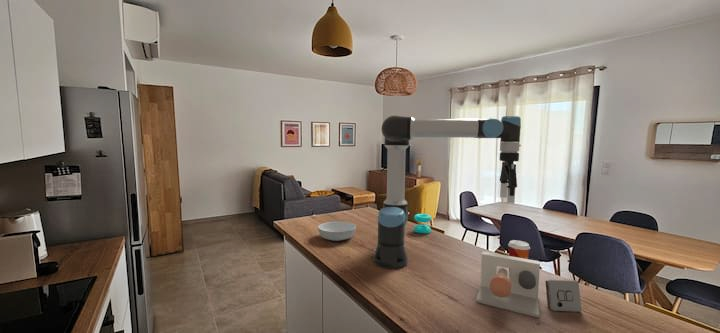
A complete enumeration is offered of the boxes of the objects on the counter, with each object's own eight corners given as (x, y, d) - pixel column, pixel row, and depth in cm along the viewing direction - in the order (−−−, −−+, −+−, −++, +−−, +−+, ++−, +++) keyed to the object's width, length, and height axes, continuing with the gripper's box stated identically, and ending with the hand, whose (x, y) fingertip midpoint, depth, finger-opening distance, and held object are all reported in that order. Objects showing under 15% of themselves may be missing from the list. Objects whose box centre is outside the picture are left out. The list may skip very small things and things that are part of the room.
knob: (489, 294, 96) (490, 276, 95) (493, 278, 107) (493, 262, 106) (510, 299, 93) (511, 281, 92) (511, 282, 104) (512, 266, 104)
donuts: (432, 217, 171) (414, 216, 172) (431, 234, 171) (414, 233, 173) (430, 213, 180) (413, 212, 182) (430, 229, 181) (413, 228, 183)
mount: (476, 301, 100) (478, 264, 99) (481, 284, 112) (483, 250, 111) (538, 317, 91) (541, 276, 90) (537, 297, 103) (539, 260, 102)
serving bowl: (363, 236, 167) (363, 224, 166) (341, 247, 149) (341, 234, 149) (333, 230, 178) (333, 219, 177) (309, 240, 160) (309, 227, 160)
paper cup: (520, 283, 113) (522, 247, 112) (502, 275, 120) (504, 241, 119) (532, 279, 117) (534, 244, 116) (514, 271, 124) (516, 238, 122)
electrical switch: (551, 311, 95) (551, 282, 95) (542, 304, 100) (542, 276, 100) (582, 312, 94) (582, 283, 94) (571, 305, 99) (571, 277, 99)
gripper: (527, 153, 116) (524, 206, 118) (511, 151, 141) (509, 195, 142) (506, 152, 118) (504, 205, 120) (494, 151, 142) (492, 194, 144)
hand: (506, 200), depth 131 cm, fingers open, 13 cm apart
